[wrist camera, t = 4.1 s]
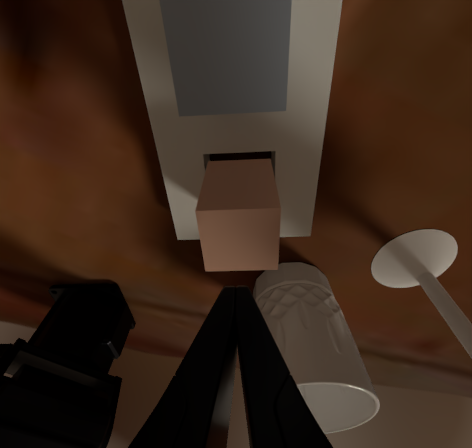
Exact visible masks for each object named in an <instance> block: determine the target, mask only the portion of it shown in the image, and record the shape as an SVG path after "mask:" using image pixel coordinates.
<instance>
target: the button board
mask: <svg viewBox="0 0 472 448" xmlns="http://www.w3.org/2000/svg"><path fill="white" fill-rule="evenodd" d="M122 3H123V7H124V11H125V16H126V20H127V24H128V29H129V33H130V37H131V41H132V46H133V50H134V54H135V59H136V63H137V67H138V72H139V76H140V80H141V84H142V89H143V93H144V97H145V102H146V106H147V110H148V115H149V119H150V123H151V127H152V132H153V136H154V140H155V145H156V149H157V153H158V158H159V162H160V166H161V170H162V175H163V179H164V183H165V188H166V192H167V196H168V200H169V205H170V209H171V213H172V218H173V222H174V226H175V231H176V235H177V239H178V240H196V239H200V236H199V230H198V225H197V219H196V213H195V210H196V206H197V202H198V198H199V195H200V191H201V187H202V183H203V179H204V176H205V172H206V168H207V164H208V161H210V155H209V154H220V153H242V152H264V151H271V163H272V168H273V172H274V177H275V182H276V186H277V191H278V196H279V200H280V205H281V221H280V237H297V236H311V228H312V221H313V214H314V206H315V199H316V191H317V184H318V177H319V169H320V162H321V155H322V147H323V140H324V132H325V125H326V118H327V110H328V103H329V96H330V88H331V81H332V73H333V66H334V59H335V51H336V44H337V37H338V29H339V22H340V14H341V7H342V0H292V5H291V25H290V45H289V64H288V84H287V103H286V111H276V112H257V113H238V114H218V115H199V116H180V117H179V113H178V107H177V101H176V95H175V89H174V84H173V78H172V72H171V66H170V60H169V54H168V48H167V42H166V37H165V31H164V25H163V19H162V13H161V7H160V1H159V0H122Z"/></svg>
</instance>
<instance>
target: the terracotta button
mask: <svg viewBox="0 0 472 448" xmlns="http://www.w3.org/2000/svg"><path fill="white" fill-rule="evenodd" d="M195 213H196V219H197V225H198V230H199V236H200V242H201V248H202V254H203V260H204V266H205V271H247V270H278V261H279V241H280V221H281V205H280V200H279V196H278V191H277V186H276V182H275V177H274V172H273V168H272V163H271V159H250V160H227V161H208V164H207V168H206V172H205V176H204V179H203V183H202V187H201V191H200V195H199V198H198V202H197V206H196V210H195Z"/></svg>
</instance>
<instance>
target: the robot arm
mask: <svg viewBox="0 0 472 448" xmlns="http://www.w3.org/2000/svg"><path fill="white" fill-rule="evenodd" d="M49 293H50V294H51V296H52V297H53V299H54V300H55V304H54V305H53V306H52V308H51V309H50V311H49V312H48V314H47V315H46V317H45V318H44V320H43V321H42V322H41V324H40V325H39V327H38V328H37V330H36V331H35V333H34V334H33V335H32V337H31V338H30V340H29V341H28V343H27V342H26V341H25V340H23V339H20V338H18V339H17V340H16V342H15V343H14V344H11V343H10V344H0V448H106V447H107V444H108V442H109V439H110V436H111V432H112V429H113V424H114V419H115V413H116V408H117V403H118V397H119V392H120V387H121V382H122V378H120V377H118V376H115V377H114V376H112V375H109V374H108V372H109V370H110V367H111V365H112V362H113V360H114V359H117V358H118V357H119V356H120V355H121V352H122V349H123V347H124V344H125V341H126V339H127V336H128V333H129V331H130V329H134V327H135V324H136V323H135V321H134V318H133V316H132V314H131V311H130V309H129V307H128V305H127V303H126V301H125V299H124V297H123V294H122V292H121V290H120V288H119V286H117V285H115V284H86V285H53V286H51V287H50V289H49ZM237 345H238V355H239V364H240V371H241V380H242V388H243V395H244V404H245V412H246V420H247V428H248V436H249V445H250V448H333V447H332V445H331V443H330V442H329V440H328V439H327V437H326V436H325V434H324V432H323V431H322V429H321V428H320V426H319V424H318V423H317V421H316V419H315V418H314V416H313V414H312V413H311V411H310V409H309V408H308V406H307V404H306V402H305V400H304V398H303V396H302V395H301V393H300V391H299V389H298V387H297V385H296V383H295V381H294V379H293V377H292V375H290V371H289V369H288V367H287V365H286V363H285V361H284V359H283V357H282V354H281V352H280V350H279V348H278V346H277V344H276V342H275V340H274V338H273V336H272V334H271V332H270V330H269V328H268V326H267V324H266V322H265V320H264V318H263V316H262V313H261V311H260V309H259V307H258V305H257V303H256V301H255V299H254V297H253V295H252V293H251V291H250V289H249V287H248V286H237V287H235V286H225V287H223V289H222V291H221V292H220V294H219V296H218V298H217V300H216V301H215V303H214V305H213V307H212V309H211V310H210V312H209V314H208V316H207V318H206V319H205V321H204V323H203V325H202V326H201V328H200V330H199V332H198V334H197V335H196V337H195V339H194V341H193V343H192V344H191V346H190V348H189V350H188V351H187V353H186V355H185V357H184V359H183V360H182V362H181V364H180V366H179V368H178V369H177V371H176V373H175V375H176V376H173V378H172V380H171V382H170V383H169V385H168V387H167V389H166V390H165V392H164V394H163V396H162V397H161V399H160V400H159V402H158V404H157V406H156V407H155V409H154V410H153V412H152V413H151V415H150V416H149V418H148V419H147V421H146V422H145V424H144V425H143V427H142V428H141V429H140V431H139V432H138V434H137V435H136V437H135V438H134V439H133V441H132V442H131V444H130V445H129V447H128V448H226V447H227V439H228V430H229V421H230V412H231V404H232V395H233V394H232V393H233V386H234V377H235V368H236V359H237ZM4 373H8V374H11V375H13V377H12V378H10V377H6V376H4Z"/></svg>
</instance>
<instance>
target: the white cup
mask: <svg viewBox="0 0 472 448" xmlns="http://www.w3.org/2000/svg"><path fill="white" fill-rule="evenodd" d="M253 297H254V299H255V301H256V303H257V305H258V307H259V309H260V311H261V313H262V316H263V318H264V320H265V322H266V324H267V326H268V328H269V330H270V332H271V334H272V336H273V338H274V340H275V342H276V344H277V346H278V348H279V350H280V352H281V354H282V357H283V359H284V361H285V363H286V365H287V367H288V369H289V371H290V375H292V377H293V379H294V381H295V383H296V385H297V387H298V389H299V391H300V393H301V395H302V396H303V398H304V400H305V402H306V404H307V406H308V408H309V409H310V411H311V413H312V414H313V416H314V418H315V419H316V421H317V423H318V424H319V426H320V428H321V429H322V431H323V432H324V434H327V433H334V432H339V431H344V430H348V429H351V428H354V427H356V426H359V425H361V424H364V423H365V422H367V421H369V420H370V419H372V418H373V417H374V416H375V415H376V414H377V412H378V411H379V408H380V403H379V399H378V397H377V395H376V392H375V390H374V387H373V385H372V382H371V380H370V378H369V375H368V373H367V370H366V368H365V365H364V363H363V360H362V358H361V356H360V353H359V351H358V348H357V346H356V343H355V341H354V338H353V336H352V334H351V331H350V329H349V327H348V325H347V323H346V321H345V318H344V316H343V313H342V311H341V308H340V306H339V305H338V303H337V301H336V300H335V298H334V295H333V293H332V290H331V287H330V285H329V282H328V280H327V277H326V276H325V275H324V274H323V273H322V272H321V271H320V270H319V269H318V268H317V267H315V266H312V265H308V264H305V263H302V262H290V263H281V264H278V270H265V271H264V272H263V273H262V274H261V275H260V276H259V277H258V278H257V279H256V282H255V286H254V290H253Z"/></svg>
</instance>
